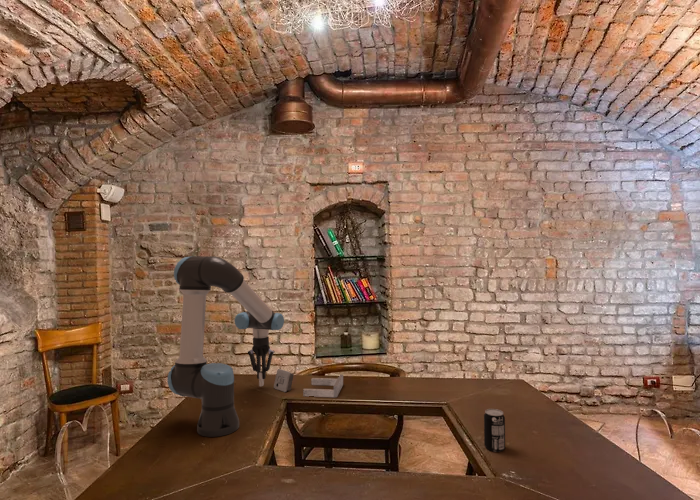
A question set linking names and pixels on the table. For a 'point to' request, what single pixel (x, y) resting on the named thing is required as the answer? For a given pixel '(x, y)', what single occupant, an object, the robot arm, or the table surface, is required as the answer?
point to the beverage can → (494, 430)
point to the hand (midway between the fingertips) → (261, 385)
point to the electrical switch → (283, 380)
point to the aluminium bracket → (325, 392)
